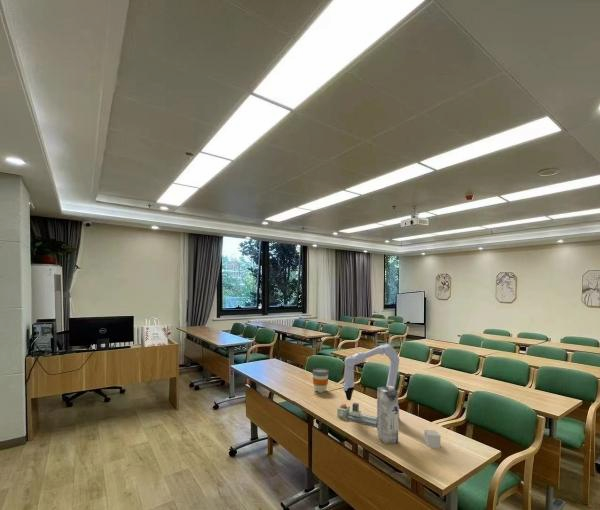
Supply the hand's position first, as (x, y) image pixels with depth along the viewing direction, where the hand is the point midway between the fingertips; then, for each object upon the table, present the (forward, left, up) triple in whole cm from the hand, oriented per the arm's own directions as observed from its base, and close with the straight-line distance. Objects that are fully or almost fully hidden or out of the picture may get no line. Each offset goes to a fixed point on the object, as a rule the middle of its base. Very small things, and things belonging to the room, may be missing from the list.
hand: (348, 399), depth 197 cm
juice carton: (-28, +18, -10) cm, 35 cm away
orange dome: (+3, 0, -6) cm, 7 cm away
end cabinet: (+3, 0, -10) cm, 11 cm away
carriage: (-4, 0, -8) cm, 9 cm away
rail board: (-9, 0, -10) cm, 13 cm away
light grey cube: (-49, +11, -10) cm, 51 cm away
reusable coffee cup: (+37, -37, -10) cm, 53 cm away
